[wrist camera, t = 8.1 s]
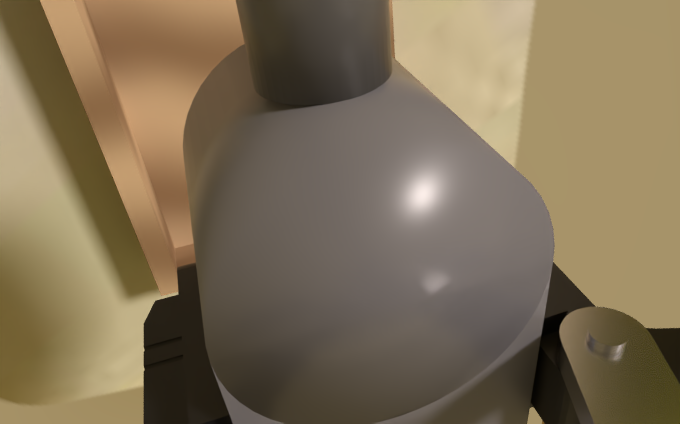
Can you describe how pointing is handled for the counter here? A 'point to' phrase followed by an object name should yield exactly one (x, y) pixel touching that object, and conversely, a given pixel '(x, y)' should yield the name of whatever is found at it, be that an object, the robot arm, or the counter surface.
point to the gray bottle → (357, 233)
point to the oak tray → (147, 102)
